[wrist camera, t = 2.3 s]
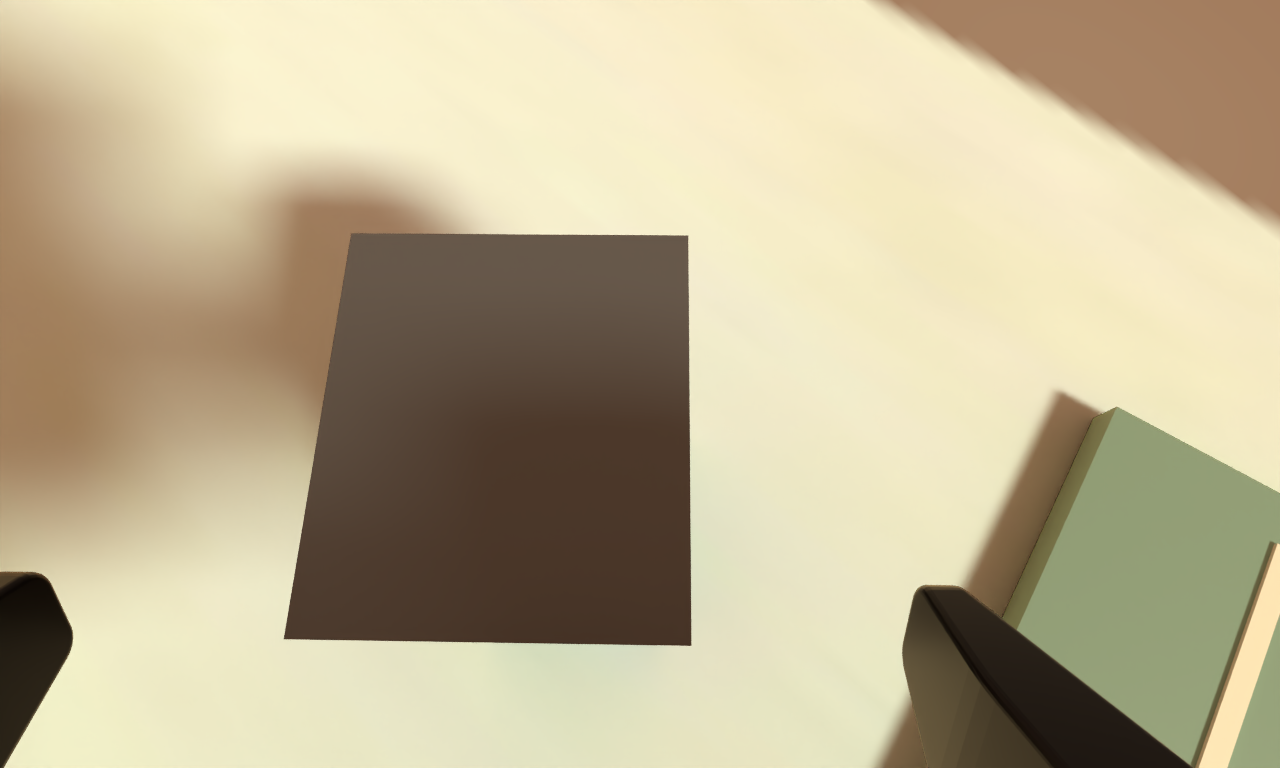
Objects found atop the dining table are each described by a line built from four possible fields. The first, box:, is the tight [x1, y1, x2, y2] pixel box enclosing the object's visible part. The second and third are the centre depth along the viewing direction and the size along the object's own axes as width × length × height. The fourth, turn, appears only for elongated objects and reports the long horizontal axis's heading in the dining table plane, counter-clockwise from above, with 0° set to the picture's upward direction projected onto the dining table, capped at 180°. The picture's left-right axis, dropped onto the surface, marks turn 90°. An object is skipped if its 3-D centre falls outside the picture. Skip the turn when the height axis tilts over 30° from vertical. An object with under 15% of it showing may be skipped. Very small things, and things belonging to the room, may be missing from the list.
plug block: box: [284, 234, 691, 646], centre depth 13 cm, size 5×4×10 cm
